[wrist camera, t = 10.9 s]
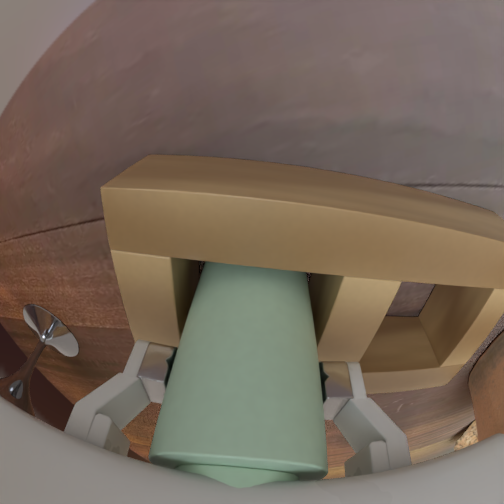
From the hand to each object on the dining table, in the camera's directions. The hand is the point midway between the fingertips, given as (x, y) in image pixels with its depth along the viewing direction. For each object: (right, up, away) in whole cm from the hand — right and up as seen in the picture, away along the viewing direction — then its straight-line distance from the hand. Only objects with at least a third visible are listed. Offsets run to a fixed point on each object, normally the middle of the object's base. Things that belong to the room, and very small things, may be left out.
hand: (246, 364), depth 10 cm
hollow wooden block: (+5, +3, +5) cm, 8 cm away
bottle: (0, +3, +5) cm, 6 cm away
